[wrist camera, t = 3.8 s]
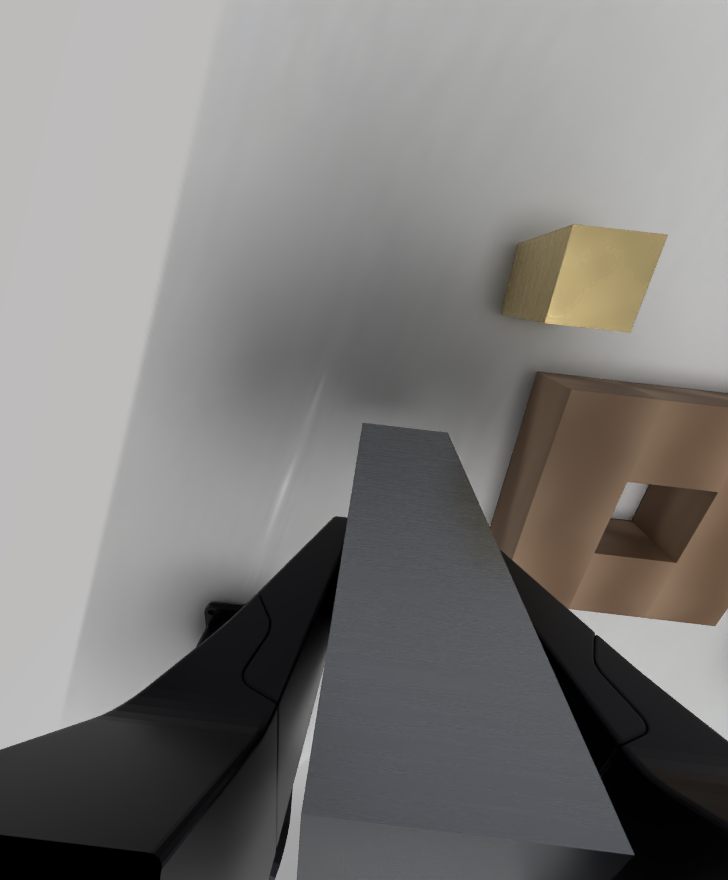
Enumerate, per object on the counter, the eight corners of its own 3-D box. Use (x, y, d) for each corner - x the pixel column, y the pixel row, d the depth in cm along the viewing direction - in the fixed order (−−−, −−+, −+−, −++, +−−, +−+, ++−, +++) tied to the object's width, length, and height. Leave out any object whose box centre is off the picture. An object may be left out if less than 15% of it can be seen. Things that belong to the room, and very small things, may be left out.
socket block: (481, 556, 23) (498, 600, 19) (537, 371, 18) (571, 389, 15) (667, 578, 23) (715, 626, 19) (773, 398, 18) (859, 422, 15)
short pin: (500, 314, 17) (544, 323, 12) (517, 243, 16) (573, 224, 11) (563, 321, 17) (630, 332, 12) (584, 250, 16) (667, 234, 11)
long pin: (354, 495, 14) (293, 932, 4) (362, 422, 12) (301, 813, 3) (432, 504, 14) (535, 962, 4) (447, 432, 12) (634, 855, 3)
